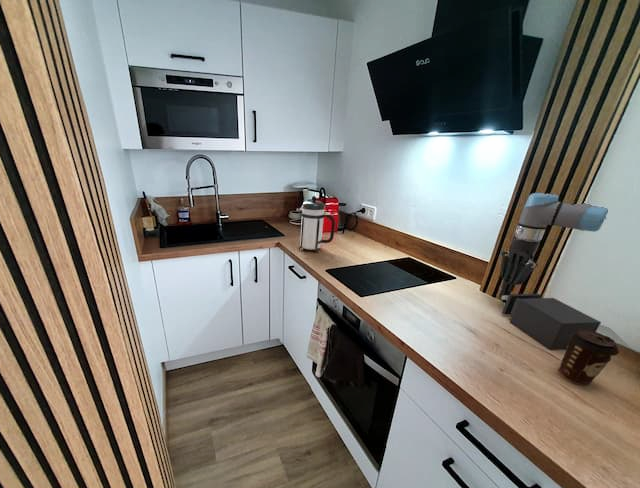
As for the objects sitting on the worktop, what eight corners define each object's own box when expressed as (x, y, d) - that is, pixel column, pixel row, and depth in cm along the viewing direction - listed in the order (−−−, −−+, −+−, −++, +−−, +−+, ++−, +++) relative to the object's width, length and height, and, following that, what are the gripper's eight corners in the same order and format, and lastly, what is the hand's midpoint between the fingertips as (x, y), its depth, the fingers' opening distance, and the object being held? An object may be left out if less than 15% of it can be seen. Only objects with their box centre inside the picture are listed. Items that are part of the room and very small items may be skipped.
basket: (492, 306, 108) (499, 288, 105) (519, 306, 109) (527, 288, 106) (534, 335, 91) (544, 315, 88) (566, 334, 93) (577, 314, 89)
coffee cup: (600, 381, 75) (626, 341, 70) (592, 395, 71) (619, 353, 65) (557, 361, 82) (578, 323, 76) (548, 373, 77) (569, 334, 72)
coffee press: (305, 255, 155) (308, 199, 143) (293, 246, 169) (295, 194, 156) (332, 252, 161) (338, 198, 149) (319, 243, 174) (323, 193, 162)
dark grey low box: (509, 322, 100) (519, 298, 96) (542, 321, 101) (553, 297, 97) (549, 349, 86) (562, 323, 83) (586, 348, 88) (601, 322, 84)
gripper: (502, 233, 105) (482, 289, 115) (533, 244, 94) (508, 306, 103) (520, 233, 106) (499, 289, 116) (554, 244, 94) (527, 306, 104)
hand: (503, 297), depth 109 cm, fingers closed
